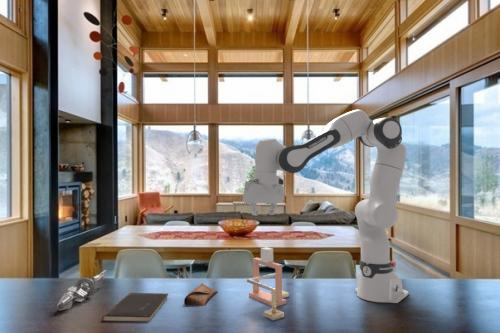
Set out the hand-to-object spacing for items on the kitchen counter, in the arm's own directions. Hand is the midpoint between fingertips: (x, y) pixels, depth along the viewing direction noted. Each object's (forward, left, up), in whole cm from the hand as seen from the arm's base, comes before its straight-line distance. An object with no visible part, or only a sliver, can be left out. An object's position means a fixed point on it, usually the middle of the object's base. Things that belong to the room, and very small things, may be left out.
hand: (263, 214), depth 137 cm
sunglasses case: (+17, -17, -34) cm, 42 cm away
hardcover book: (+41, -22, -34) cm, 58 cm away
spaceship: (+54, -46, -33) cm, 78 cm away
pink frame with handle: (-2, 0, -33) cm, 33 cm away
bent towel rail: (-1, +7, -33) cm, 34 cm away
